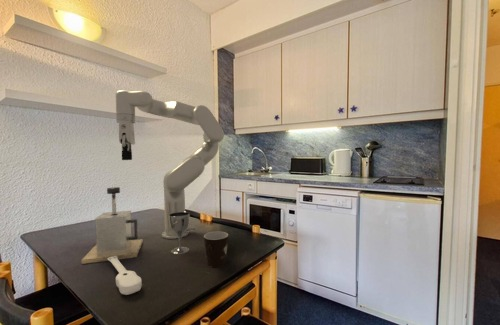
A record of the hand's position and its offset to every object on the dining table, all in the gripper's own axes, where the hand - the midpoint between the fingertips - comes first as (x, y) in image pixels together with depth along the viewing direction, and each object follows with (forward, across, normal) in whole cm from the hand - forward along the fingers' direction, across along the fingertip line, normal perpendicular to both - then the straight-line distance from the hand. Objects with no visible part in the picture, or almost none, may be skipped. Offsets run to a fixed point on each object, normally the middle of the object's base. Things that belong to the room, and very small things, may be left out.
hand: (127, 159), depth 106 cm
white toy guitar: (+38, -35, -4) cm, 52 cm away
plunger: (+28, -12, +3) cm, 30 cm away
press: (+37, -12, +3) cm, 39 cm away
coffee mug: (+37, -36, -33) cm, 62 cm away
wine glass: (+37, -19, -22) cm, 47 cm away
